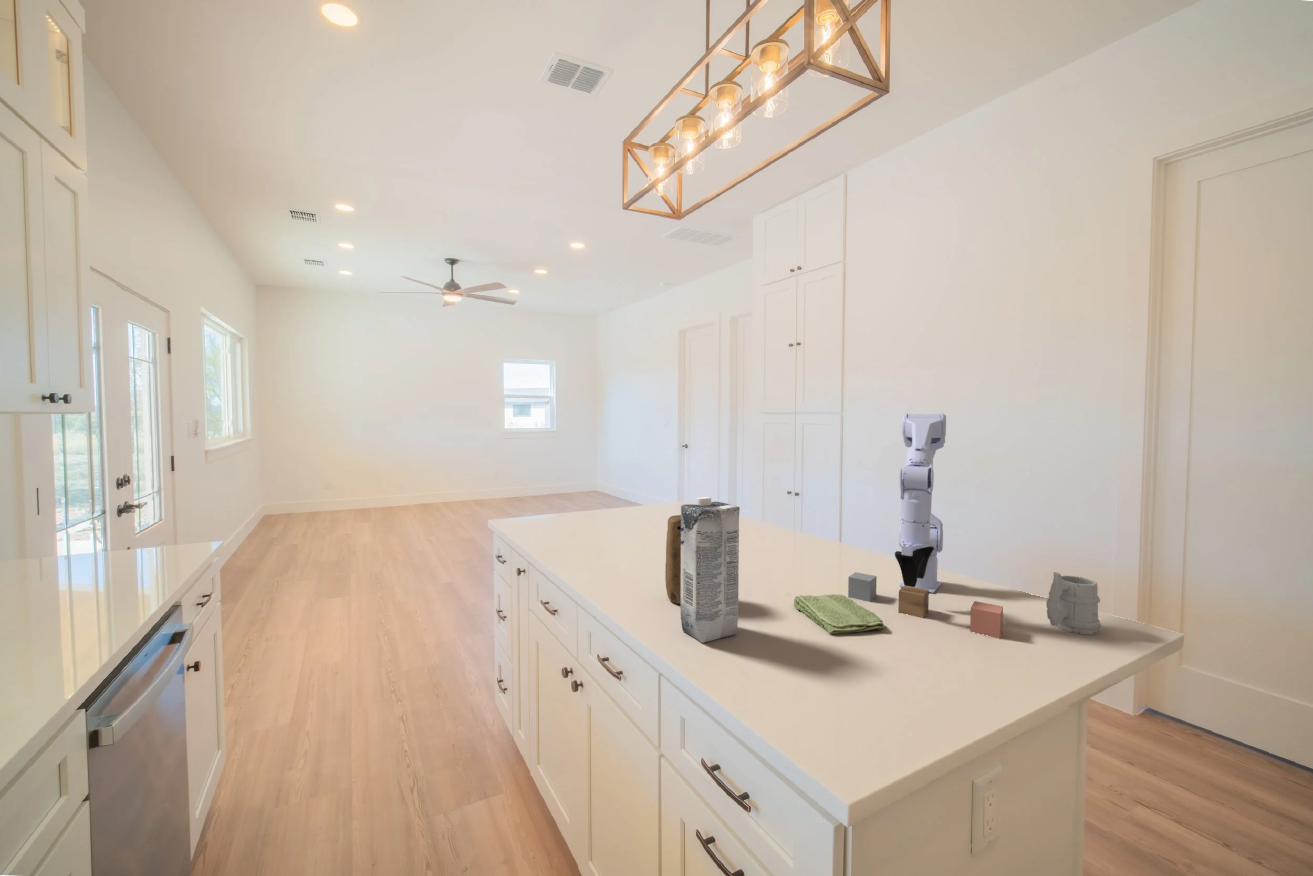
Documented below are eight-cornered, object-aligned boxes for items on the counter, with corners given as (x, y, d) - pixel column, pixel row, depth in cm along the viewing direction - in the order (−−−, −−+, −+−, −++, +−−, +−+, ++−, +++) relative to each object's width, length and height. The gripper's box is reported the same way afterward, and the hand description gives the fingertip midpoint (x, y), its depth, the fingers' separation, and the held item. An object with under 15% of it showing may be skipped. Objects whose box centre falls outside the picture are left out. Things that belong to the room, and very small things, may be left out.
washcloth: (830, 639, 103) (830, 623, 103) (789, 607, 120) (789, 593, 120) (889, 633, 106) (890, 618, 106) (841, 603, 123) (841, 589, 123)
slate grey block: (855, 592, 130) (855, 572, 130) (876, 596, 127) (876, 576, 127) (848, 597, 126) (848, 577, 126) (869, 602, 123) (870, 581, 123)
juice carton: (744, 635, 104) (745, 499, 103) (701, 647, 98) (701, 504, 97) (716, 620, 112) (717, 493, 110) (675, 630, 106) (675, 497, 105)
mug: (1109, 632, 106) (1111, 573, 105) (1068, 640, 102) (1070, 579, 102) (1069, 618, 113) (1071, 563, 112) (1029, 625, 109) (1031, 568, 109)
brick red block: (973, 624, 110) (974, 601, 110) (1002, 630, 107) (1003, 606, 106) (970, 632, 106) (970, 607, 106) (999, 639, 103) (1000, 613, 103)
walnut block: (904, 606, 120) (904, 585, 120) (928, 611, 117) (928, 589, 117) (898, 613, 116) (898, 590, 116) (923, 618, 113) (923, 595, 113)
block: (669, 606, 119) (669, 519, 119) (663, 595, 127) (664, 513, 126) (715, 604, 121) (716, 518, 120) (707, 593, 128) (708, 512, 128)
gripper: (928, 528, 108) (926, 593, 108) (942, 518, 119) (941, 577, 119) (891, 523, 112) (890, 586, 112) (908, 514, 123) (907, 571, 124)
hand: (914, 581), depth 116 cm, fingers open, 7 cm apart
